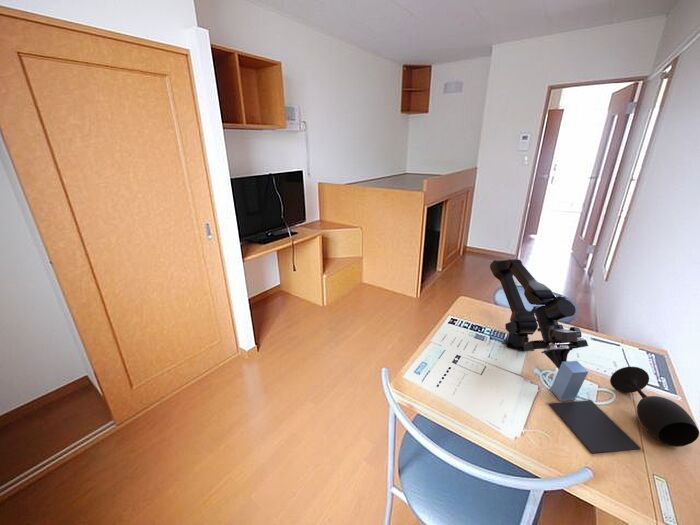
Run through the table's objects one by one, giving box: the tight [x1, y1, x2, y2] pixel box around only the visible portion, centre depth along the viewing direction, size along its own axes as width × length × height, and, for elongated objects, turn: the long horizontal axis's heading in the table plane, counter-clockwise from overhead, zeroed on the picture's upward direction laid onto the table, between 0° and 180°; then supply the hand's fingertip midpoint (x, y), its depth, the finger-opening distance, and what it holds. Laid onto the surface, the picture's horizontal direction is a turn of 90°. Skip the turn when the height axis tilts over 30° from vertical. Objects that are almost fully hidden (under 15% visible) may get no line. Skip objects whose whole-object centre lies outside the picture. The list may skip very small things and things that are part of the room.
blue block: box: [550, 360, 589, 402], centre depth 95 cm, size 4×5×12 cm
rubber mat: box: [548, 399, 641, 454], centre depth 87 cm, size 16×14×1 cm
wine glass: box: [609, 366, 700, 448], centre depth 88 cm, size 10×10×20 cm
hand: (563, 372), depth 97 cm, fingers closed
